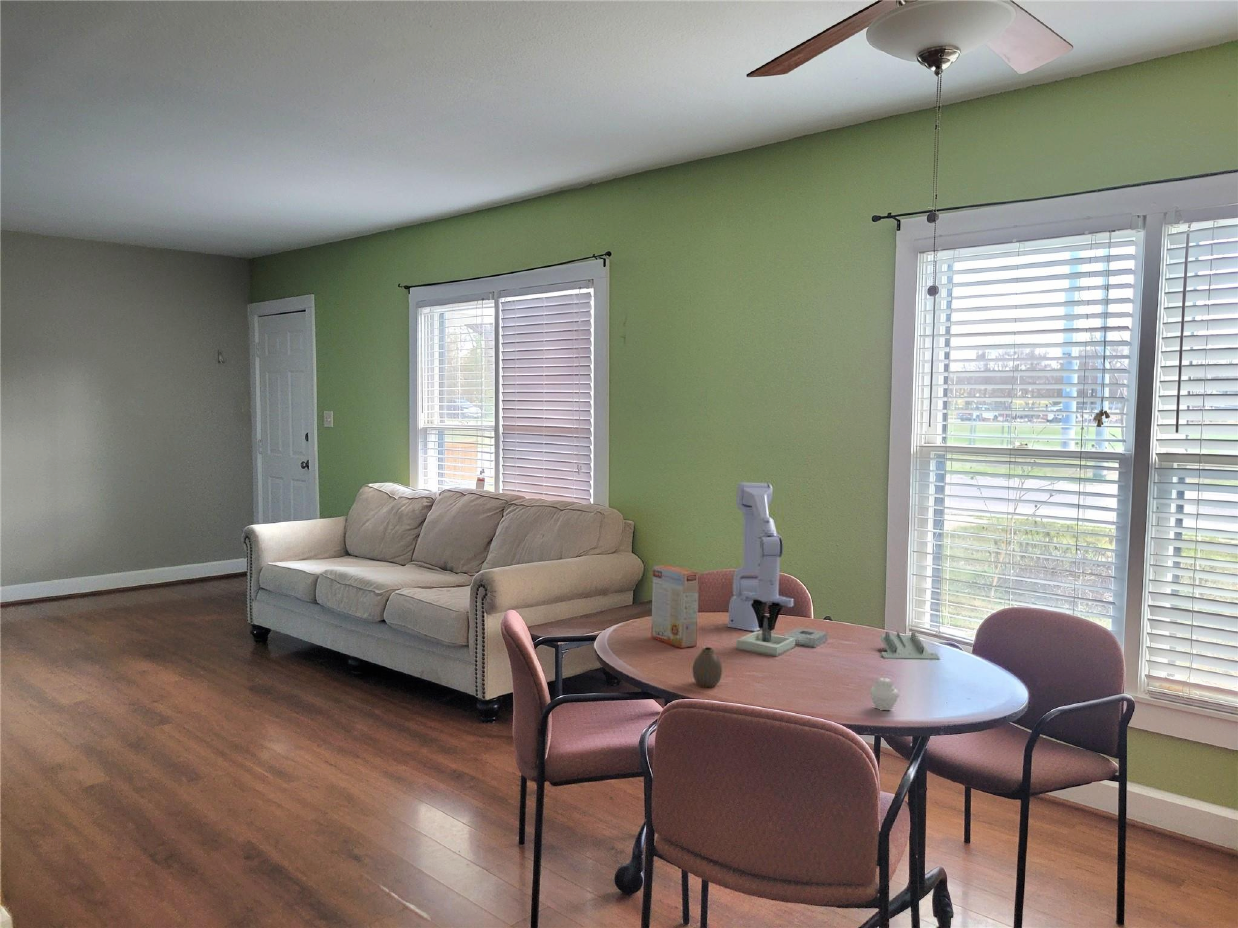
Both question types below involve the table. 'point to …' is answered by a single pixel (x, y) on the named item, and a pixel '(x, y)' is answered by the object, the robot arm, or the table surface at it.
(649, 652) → the table surface
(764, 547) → the robot arm
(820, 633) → the block
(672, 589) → the cracker box
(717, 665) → the vase
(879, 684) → the white rounded piece
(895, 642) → the metal bracket
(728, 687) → the table surface
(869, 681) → the table surface
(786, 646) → the tray
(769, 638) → the pin
